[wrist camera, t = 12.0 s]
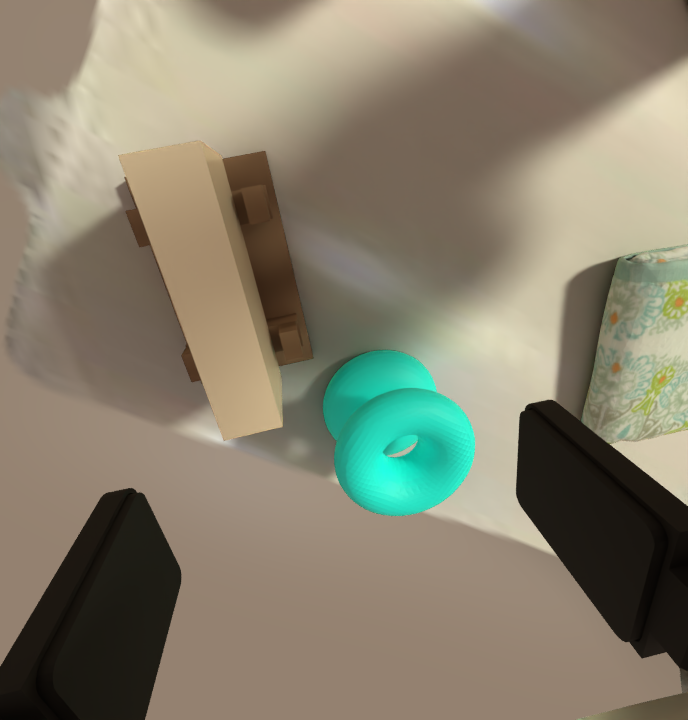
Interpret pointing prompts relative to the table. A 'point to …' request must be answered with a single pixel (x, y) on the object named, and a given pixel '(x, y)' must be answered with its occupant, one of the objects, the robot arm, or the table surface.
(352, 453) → the donuts
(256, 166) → the rack
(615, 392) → the towel
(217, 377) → the cream rectangular block
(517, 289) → the table surface
